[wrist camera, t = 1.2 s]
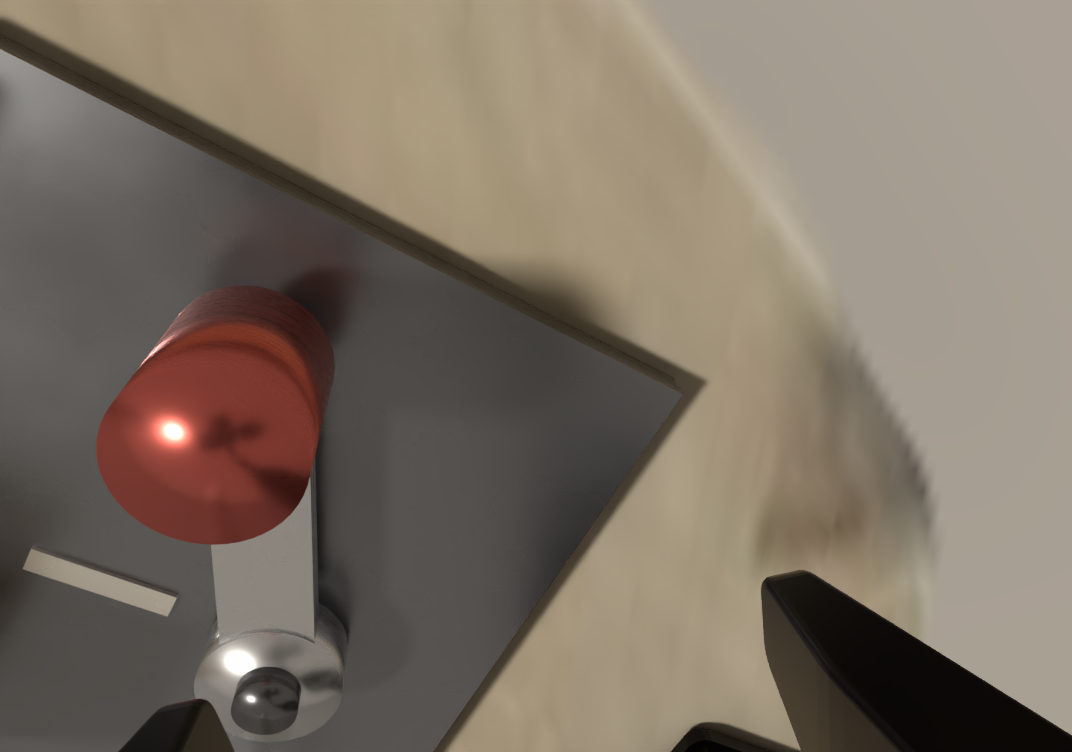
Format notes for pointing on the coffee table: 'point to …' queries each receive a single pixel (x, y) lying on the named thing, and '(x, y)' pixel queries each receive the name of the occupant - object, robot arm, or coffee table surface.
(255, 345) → the crank
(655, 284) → the coffee table surface
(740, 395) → the coffee table surface
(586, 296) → the coffee table surface
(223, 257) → the bedplate
